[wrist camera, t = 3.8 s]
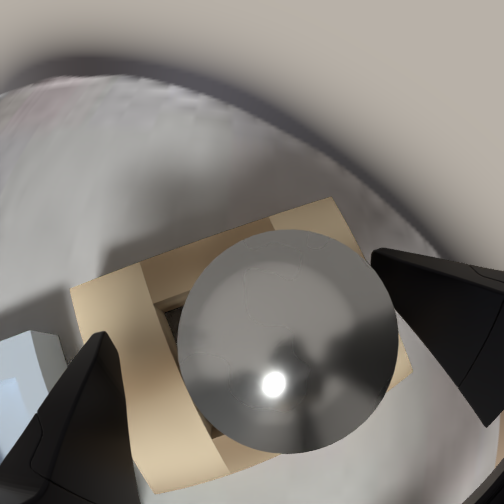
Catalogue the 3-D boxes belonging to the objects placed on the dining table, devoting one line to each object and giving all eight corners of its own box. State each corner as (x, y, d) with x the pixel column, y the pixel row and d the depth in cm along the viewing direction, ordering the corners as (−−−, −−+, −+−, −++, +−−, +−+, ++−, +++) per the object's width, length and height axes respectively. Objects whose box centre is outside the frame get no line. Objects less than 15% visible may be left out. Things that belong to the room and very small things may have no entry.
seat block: (143, 514, 10) (132, 538, 7) (20, 512, 7) (1, 524, 4) (58, 335, 13) (30, 330, 10) (-42, 369, 10) (-67, 366, 7)
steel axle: (296, 366, 14) (422, 379, 5) (221, 399, 13) (239, 487, 4) (264, 294, 15) (343, 204, 6) (188, 323, 14) (143, 275, 5)
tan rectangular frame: (383, 370, 15) (413, 371, 12) (164, 471, 11) (154, 494, 8) (313, 220, 17) (331, 196, 14) (93, 300, 14) (69, 288, 11)
